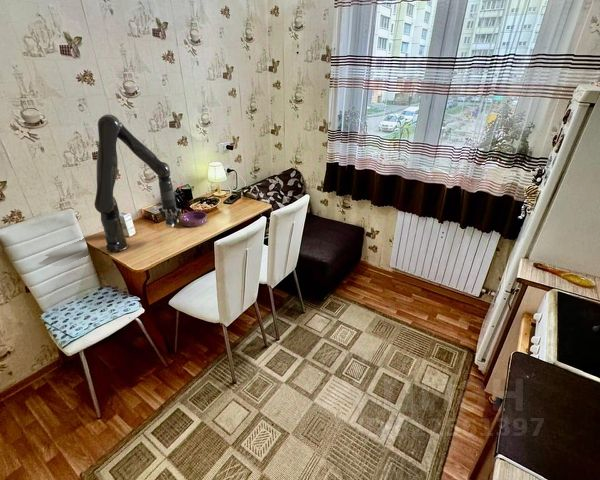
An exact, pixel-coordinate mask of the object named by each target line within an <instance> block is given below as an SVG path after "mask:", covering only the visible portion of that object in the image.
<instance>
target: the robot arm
mask: <svg viewBox="0 0 600 480" xmlns="http://www.w3.org/2000/svg"><path fill="white" fill-rule="evenodd" d="M97 131H98V147H97V154H96V193H95V198H94V205H93V206H94V208H95V210H96V211H97V212H98V213H99V214H100V222H101V225H102V227H103V228H102V229H103V231H104V234H105V236H104V239H105V241H106V245H105V246H106V250H107V251H109V252H110V253H111V254H115V253H120V252H124V251H125V250H127V249H128V248H129V244H128V241H127V237H126V236H125V234H124V231H123V227H122V224H121V220H120V210H119V206H118V202H117V199H116V197H114V189H115V184H116V180H117V176H118V168H119V167H118V165H119V161H118V153H117V141H118V139H119V140H120V141H121V142H122V143H124V145H126V147H127V148H128V149H129V150H130V151H131V152H132V153H133V155H135V157H137V158H138V159H139V160H140V161H141V162H143V163H144V164H145V165H147V166H148V167H149V168H150V170H152V171H153V172H154V174H155V175H157V180H158V188H159V195H160V200H161V205H162V207H159V208H158V211H159V213H160V215H161V217H162V218H163V219H164V218H165V219H166V220H167V219H168V218H170V217H171V216H173V218H174V226H177V225H178V223H179V222H178V221H179V218H181V216H182V208H178V206H177V202H176V196H175V192H174V188H173V186H174V185H173V182H172V179H171V178H172V176H171V169H170V166H169V164H168V163H167V162H165V161H161V160H160V159H159V158H158V157H157V155H156V154H155V153H154V152H153V151H152V150H151V149H149V148H148V147H147V146H146V145H144V144H143V142H141V141H140V140H139V139H138V138H137V137H135V136H134V135H133V134H132V133H131V132H130V131H129V130H128V128H126V126H125V125H124V124H123V123H122V122H121V121H120V120H119V118H118V117H117V116H115V115H113V114H103V115H102V116H100V118H99V119H98V120H97ZM170 215H171V216H170ZM177 219H178V220H177ZM166 220H165V221H166Z"/></svg>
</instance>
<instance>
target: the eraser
mask: <svg viewBox="0 0 600 480" xmlns="http://www.w3.org/2000/svg"><path fill="white" fill-rule="evenodd" d="M177 220H178V223H179V218H178V219H177ZM165 224H166V225H165V226H166V228H173V227H174V226H175V225H174V218H173V216H172V215H171V216H170V217H169V218H168V219H167V220H165Z"/></svg>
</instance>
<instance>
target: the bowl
mask: <svg viewBox="0 0 600 480" xmlns="http://www.w3.org/2000/svg"><path fill="white" fill-rule="evenodd" d="M180 221H181V222H180V223H181V225H183V226H184V227H200V226H202V225H205V224H206V223H208V214H207V213H206V212H204V211H201V210H200V211H199V210H196V211H195V210H194V211H188V212H185V213H183V214H181V215H180Z"/></svg>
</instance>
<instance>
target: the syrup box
mask: <svg viewBox="0 0 600 480" xmlns="http://www.w3.org/2000/svg"><path fill="white" fill-rule="evenodd" d="M119 214H120V220H121V224H122V227H123V231H124V234H125V237H128V238H130V237H132V236H133V235H136V233H137V232H136V229H135V225H134V221H133V218H132V215H131V212H125V211H122V212H119Z"/></svg>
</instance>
